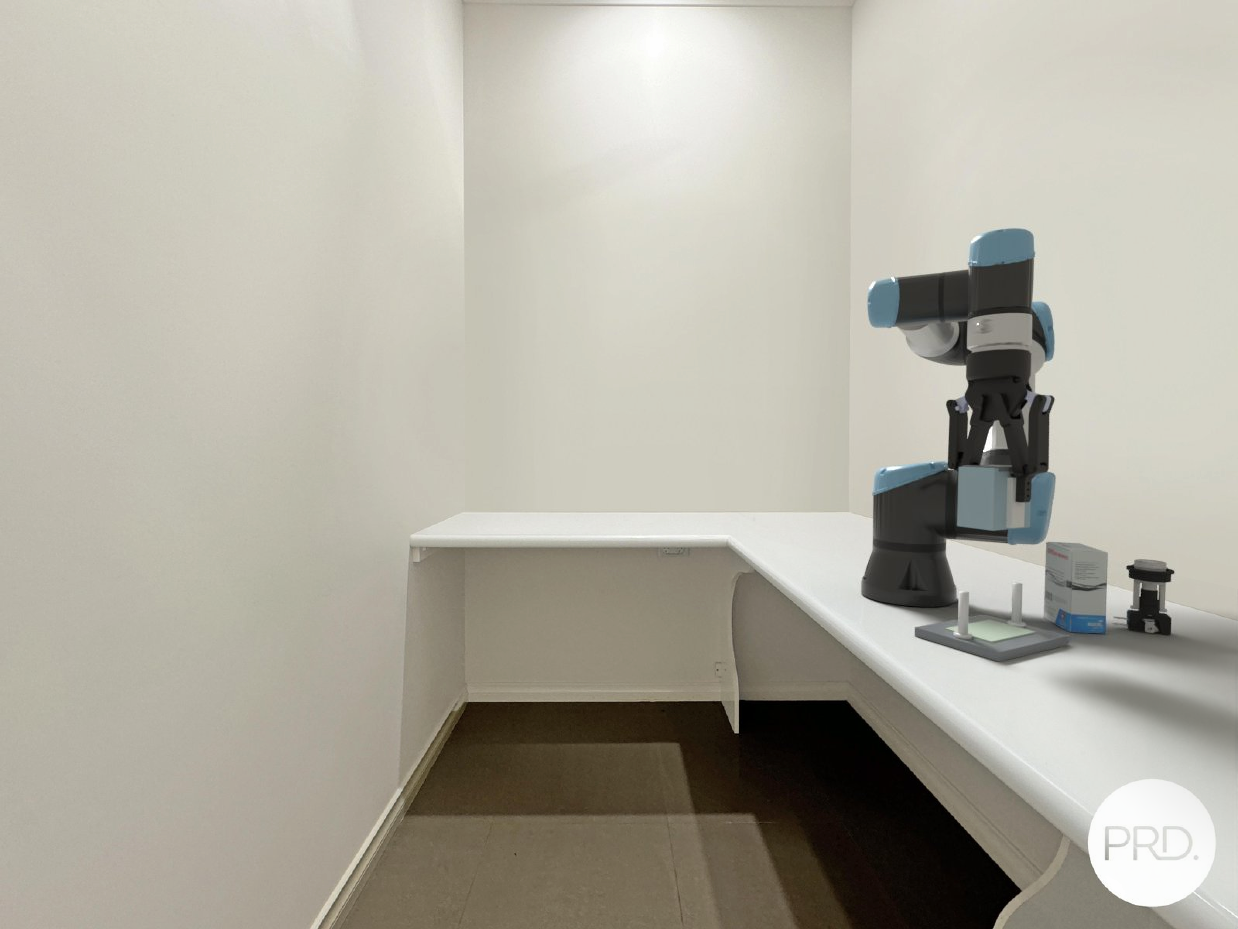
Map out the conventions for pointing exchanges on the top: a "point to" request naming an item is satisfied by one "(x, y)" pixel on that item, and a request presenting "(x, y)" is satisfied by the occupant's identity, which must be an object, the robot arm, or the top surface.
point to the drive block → (985, 497)
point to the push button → (1148, 597)
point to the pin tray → (992, 632)
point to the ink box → (1076, 587)
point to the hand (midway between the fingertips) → (993, 524)
